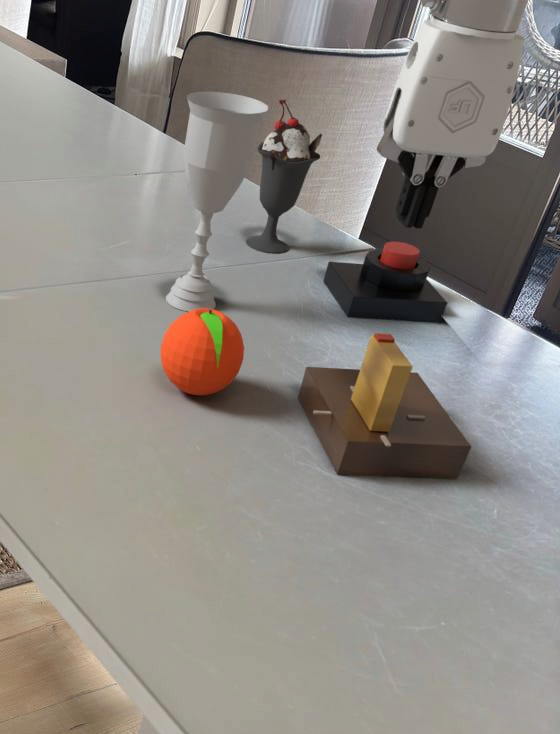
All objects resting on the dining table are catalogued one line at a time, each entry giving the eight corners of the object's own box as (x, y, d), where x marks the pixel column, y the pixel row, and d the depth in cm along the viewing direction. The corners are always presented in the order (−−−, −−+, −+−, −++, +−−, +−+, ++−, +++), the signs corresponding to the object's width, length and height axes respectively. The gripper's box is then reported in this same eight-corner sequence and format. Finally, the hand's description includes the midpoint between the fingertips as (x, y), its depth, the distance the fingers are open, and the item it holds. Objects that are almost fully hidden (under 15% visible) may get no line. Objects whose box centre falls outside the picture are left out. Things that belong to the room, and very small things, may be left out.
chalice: (216, 288, 100) (255, 94, 88) (235, 317, 95) (279, 116, 83) (147, 286, 99) (178, 89, 87) (163, 315, 94) (197, 110, 82)
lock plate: (406, 403, 86) (418, 370, 83) (460, 483, 76) (475, 448, 74) (279, 397, 84) (288, 363, 82) (319, 478, 75) (330, 442, 73)
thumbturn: (389, 432, 75) (414, 363, 71) (369, 431, 75) (393, 362, 71) (369, 400, 79) (391, 332, 75) (350, 399, 78) (371, 331, 75)
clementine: (247, 418, 81) (267, 337, 76) (166, 416, 79) (181, 334, 75) (222, 372, 86) (239, 294, 82) (147, 370, 85) (159, 290, 80)
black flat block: (410, 287, 106) (422, 250, 104) (440, 323, 100) (454, 285, 97) (322, 281, 105) (333, 244, 102) (347, 317, 98) (359, 278, 96)
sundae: (225, 240, 111) (255, 94, 101) (262, 231, 115) (294, 89, 105) (270, 261, 108) (305, 112, 98) (307, 250, 112) (344, 106, 102)
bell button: (407, 259, 102) (412, 242, 101) (419, 273, 100) (425, 256, 99) (374, 257, 102) (380, 240, 101) (386, 270, 99) (391, 253, 98)
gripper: (413, 10, 82) (349, 231, 94) (575, 29, 84) (492, 243, 96) (384, -7, 87) (327, 204, 100) (537, 11, 90) (463, 216, 102)
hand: (408, 222), depth 98 cm, fingers closed
